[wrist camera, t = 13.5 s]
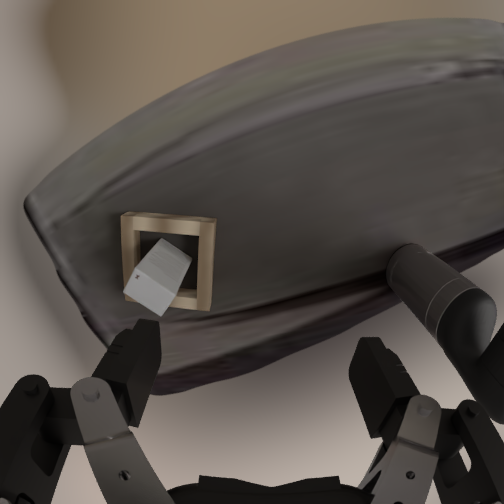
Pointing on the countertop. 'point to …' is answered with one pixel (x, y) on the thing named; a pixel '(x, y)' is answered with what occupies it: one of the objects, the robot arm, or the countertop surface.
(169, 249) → the skincare box
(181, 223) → the birch stand
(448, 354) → the robot arm
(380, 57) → the countertop surface
